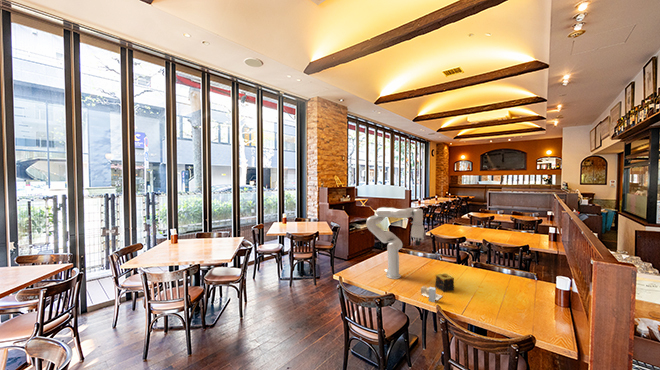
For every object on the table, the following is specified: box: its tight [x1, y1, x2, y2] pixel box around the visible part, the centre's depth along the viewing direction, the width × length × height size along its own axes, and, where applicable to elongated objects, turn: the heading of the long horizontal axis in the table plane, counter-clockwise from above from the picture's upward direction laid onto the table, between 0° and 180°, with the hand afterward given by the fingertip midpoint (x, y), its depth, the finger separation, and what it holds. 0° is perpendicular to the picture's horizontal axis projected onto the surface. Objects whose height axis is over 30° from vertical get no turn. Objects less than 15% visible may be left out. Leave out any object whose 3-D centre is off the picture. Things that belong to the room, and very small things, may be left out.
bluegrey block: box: [428, 286, 437, 303], centre depth 185 cm, size 4×4×9 cm
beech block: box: [420, 285, 429, 295], centre depth 194 cm, size 4×4×9 cm
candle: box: [434, 273, 455, 293], centre depth 204 cm, size 10×10×10 cm
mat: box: [421, 293, 443, 301], centre depth 192 cm, size 12×9×1 cm
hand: (417, 245), depth 216 cm, fingers closed
